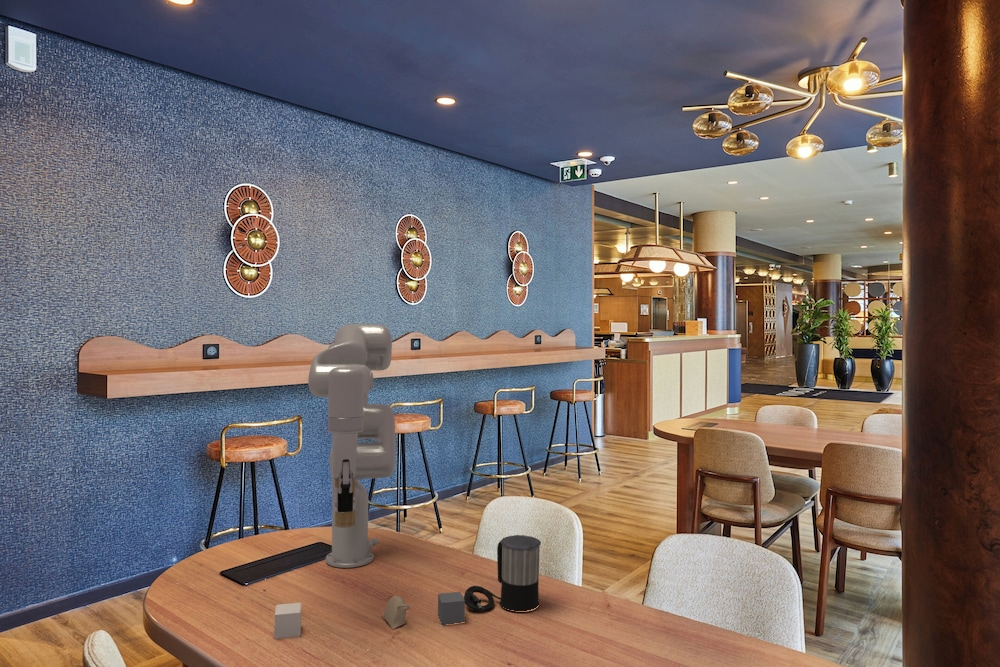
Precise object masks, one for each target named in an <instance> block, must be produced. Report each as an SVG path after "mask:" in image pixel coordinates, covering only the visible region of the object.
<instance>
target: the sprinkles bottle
mask: <svg viewBox="0 0 1000 667" xmlns="http://www.w3.org/2000/svg"><path fill="white" fill-rule="evenodd" d="M342 468H343V462H342ZM352 474H353V473H352ZM349 478H350V475H349ZM341 479H343V476H341ZM342 483H343V481H342V482H341V484H342ZM341 490H342V488H341ZM352 492H353V511H352V512H338V511H337V503H338V493H339V477H338V478H335V523H334V525H335V526H336V527H341V528H345V527H351V526H353V525H355V523H356V522H355V478H354V479H352Z"/></svg>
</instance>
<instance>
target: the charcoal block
mask: <svg viewBox="0 0 1000 667" xmlns="http://www.w3.org/2000/svg"><path fill="white" fill-rule="evenodd" d="M465 607H466V604H465V600H464V595H463V594H462V591H455V592H454V591H452V592H443V593H442V592H441V593H437V617H438V616H439V617H438V620H439V619H440V620H439V623H440V622H441V623H440V626H441V625H445V626H447V625H446V624H454V623H461V622H465V620H466V619H465V616H466V615H465V612H466V609H465Z"/></svg>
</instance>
